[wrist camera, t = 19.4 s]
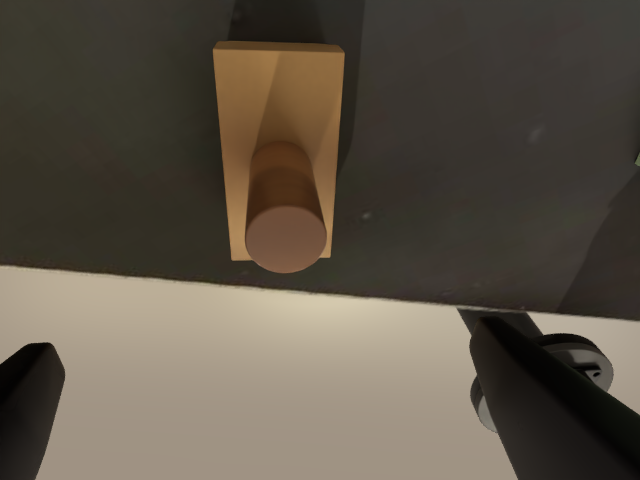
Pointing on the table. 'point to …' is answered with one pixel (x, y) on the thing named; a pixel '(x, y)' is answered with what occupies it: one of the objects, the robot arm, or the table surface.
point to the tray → (638, 160)
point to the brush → (279, 148)
